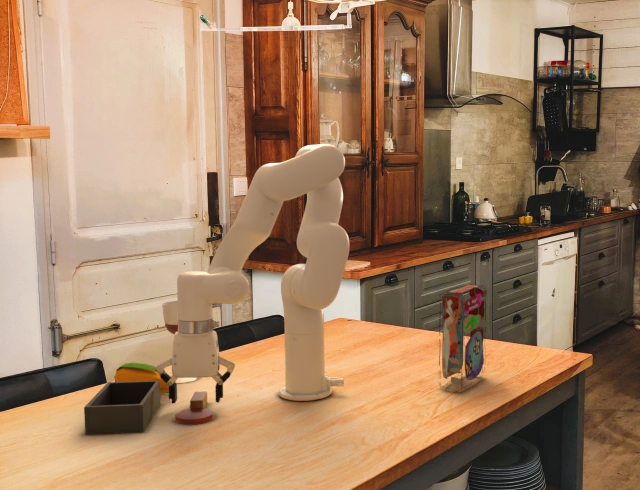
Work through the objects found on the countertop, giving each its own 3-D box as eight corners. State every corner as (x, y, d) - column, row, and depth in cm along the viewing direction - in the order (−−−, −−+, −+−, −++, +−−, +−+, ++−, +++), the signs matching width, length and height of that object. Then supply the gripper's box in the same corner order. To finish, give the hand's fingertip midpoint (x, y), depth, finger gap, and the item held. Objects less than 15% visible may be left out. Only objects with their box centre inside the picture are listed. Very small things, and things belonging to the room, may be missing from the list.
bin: (160, 404, 180) (160, 380, 179) (143, 432, 161) (142, 405, 160) (108, 406, 178) (107, 382, 178) (85, 434, 159) (83, 407, 159)
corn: (129, 355, 195) (187, 364, 185) (132, 384, 197) (189, 395, 187) (105, 363, 189) (163, 373, 179) (108, 393, 190) (166, 405, 180)
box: (476, 368, 212) (477, 279, 210) (497, 370, 209) (498, 281, 207) (438, 391, 190) (438, 292, 188) (461, 394, 187) (462, 294, 185)
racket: (218, 403, 181) (218, 390, 180) (210, 424, 166) (210, 410, 166) (183, 404, 180) (183, 392, 179) (172, 425, 165) (171, 411, 165)
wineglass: (158, 381, 199) (155, 304, 197) (180, 373, 207) (177, 299, 205) (183, 384, 196) (181, 306, 194) (204, 376, 204) (202, 301, 202)
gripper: (236, 323, 178) (236, 396, 180) (158, 324, 176) (159, 397, 178) (233, 329, 171) (233, 405, 173) (152, 330, 169) (153, 407, 171)
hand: (196, 401), depth 175 cm, fingers open, 9 cm apart
